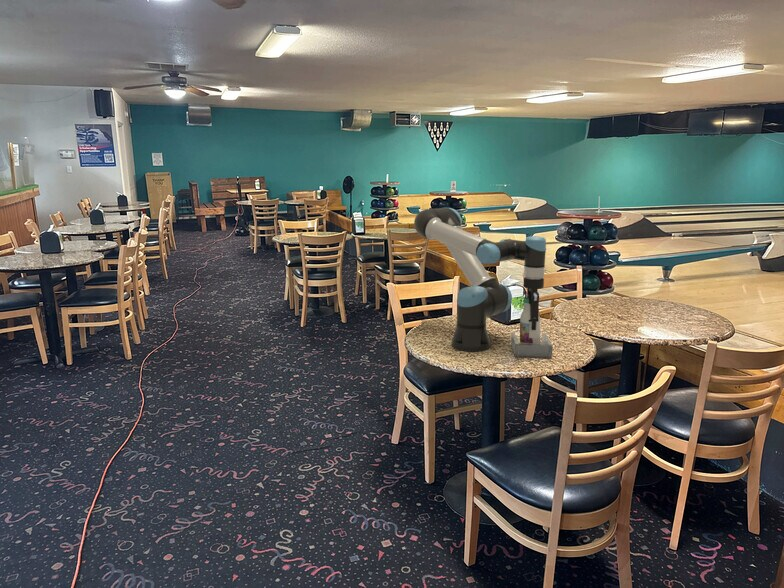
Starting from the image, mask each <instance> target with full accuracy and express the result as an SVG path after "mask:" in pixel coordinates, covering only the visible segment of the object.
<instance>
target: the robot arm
mask: <svg viewBox="0 0 784 588" xmlns="http://www.w3.org/2000/svg"><path fill="white" fill-rule="evenodd" d="M413 222H414V223H413V224H414V225H413V227H414V230H415V231H416V233H417V234H418V235H419V236H421V237H423V238H425V239H428V240H430V241H432V240H435V241H436V240H437V241H438V242H439V243H440V244H442V245H443V244H444V246H446V248H447V250H448V252H449V253H450V254H451V257H452V258H453V260H454V261H455V262H456V264H457V265H458V267H459V268H460V271H461V272H462V273H463V275H464V277H465V278H466V279H467V281H468V283H469V284H470V286H467V287H463V288H461V289H460V290H458V292H457V298H456V328H455V331H454V333H453V336H452V340H451V347H453V348H454V349H456V350H459V351H464V352H483V351H487V350H489V349H490V346H491V340H490V337H489V333H488V329H487V318H489V317H493V316H495V315H501V314H502V313H504V312H506V311H507V310H509V309H510V307H511V305H512V302H513V301H512V300H513V295H512V291H511V289H510V288H509V287H508V286H507V285H504V284H501V283H499V281H498V280H497V278H496V277H493V276H490V274H489V273H488V271H487V269H486V268H485V267H484V265H483V264H485V265H492V264H495V263H500V262H501V263H502V262H506V261H510V260H516V261H523V262H524V266H523V276H524V277H523V288H525V289H526V290H527V291H526V297H528V298H529V304H530V318H531V319H530V320H529V322H530V326H529V338H536V336H537V321H539V319H538V317H540V313H539V312H540V311H539V309H540V307H539V306H540V304H539V303H540V292H538V290H540V289H543V288H544V283H545V278H544V277H545V272H546V271H547V268H545V267H546V264H545V263H546V253H547V252H546V251H547V239H546V238H545V237H543V236H537V235H536V236H534V235H533V236H531V235H530V236H527V237H526V238H525V240H518V239H512V238H508V239H506V238H503V239H501V240H499V241H497V242H494V241H491V240H488V239H486V238H485V237H481V236H479V235H476V234H474V233H471V232H468V231H466V230H463V226H462V216H461V215H460V212H458V211H457V210H456V209H454V208H452V207H440V208H426V209H422V210H421V211H420V212H418V213H417V215H416V216H415V217H414V221H413ZM531 301H532V302H531Z"/></svg>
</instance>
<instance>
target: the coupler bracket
mask: <svg viewBox="0 0 784 588" xmlns="http://www.w3.org/2000/svg"><path fill="white" fill-rule="evenodd" d="M510 333H511V335H510V345H511V348H512V351H513V354H514V357H515V358H525V359H553V348H554V347H553V344H552V342H551V340H550V339H549V337H548V335H547V333H546V332H542V333H541V342H540V344H520V342H519V340H518V337H517V335H516V333H515V332H514V331H511V332H510Z"/></svg>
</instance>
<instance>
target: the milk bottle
mask: <svg viewBox="0 0 784 588" xmlns="http://www.w3.org/2000/svg"><path fill="white" fill-rule="evenodd" d="M531 302H532V301H531ZM523 304H524V307H523V310H522V312H521V314H520V319H519V343H520V344H540V343H541V317H540V316H539V317H538V319H539V321H537V336H536V338H529V326H530V322H529V320H530V319H531V318H530V304H529V298H528V297H527V296H526V297H524V298H523Z"/></svg>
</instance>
